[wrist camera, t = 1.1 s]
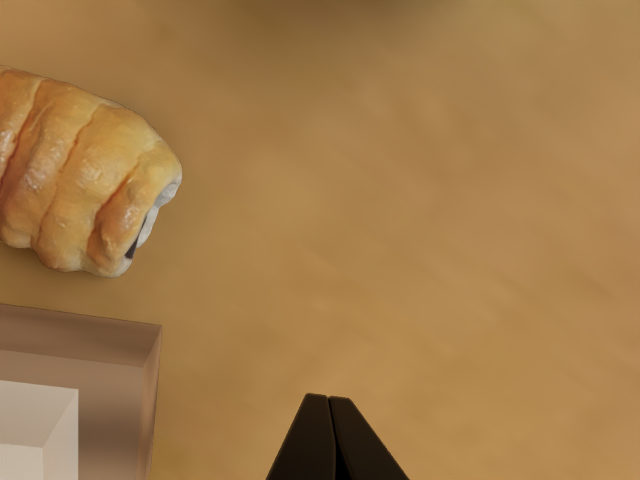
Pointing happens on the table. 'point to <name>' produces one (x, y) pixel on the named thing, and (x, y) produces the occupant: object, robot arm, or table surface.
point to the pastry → (78, 175)
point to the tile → (38, 432)
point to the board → (91, 381)
